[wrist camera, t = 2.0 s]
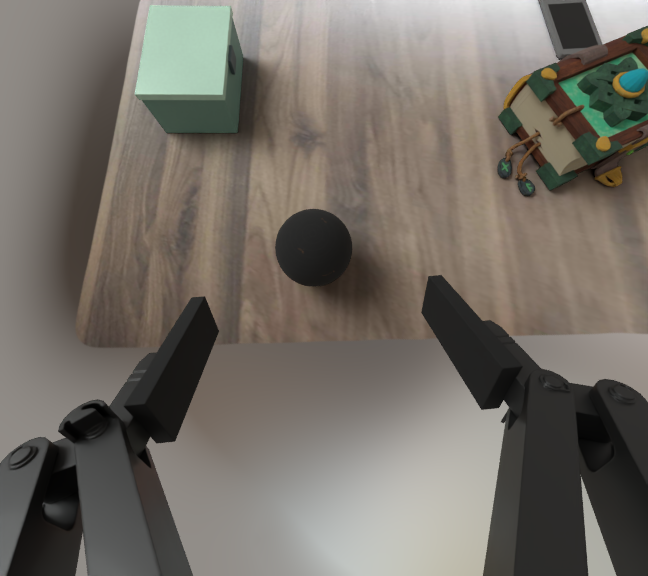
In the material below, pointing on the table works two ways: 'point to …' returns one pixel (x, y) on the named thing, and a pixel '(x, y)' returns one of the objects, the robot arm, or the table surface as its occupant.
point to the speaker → (313, 247)
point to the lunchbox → (191, 69)
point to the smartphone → (569, 25)
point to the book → (581, 113)
